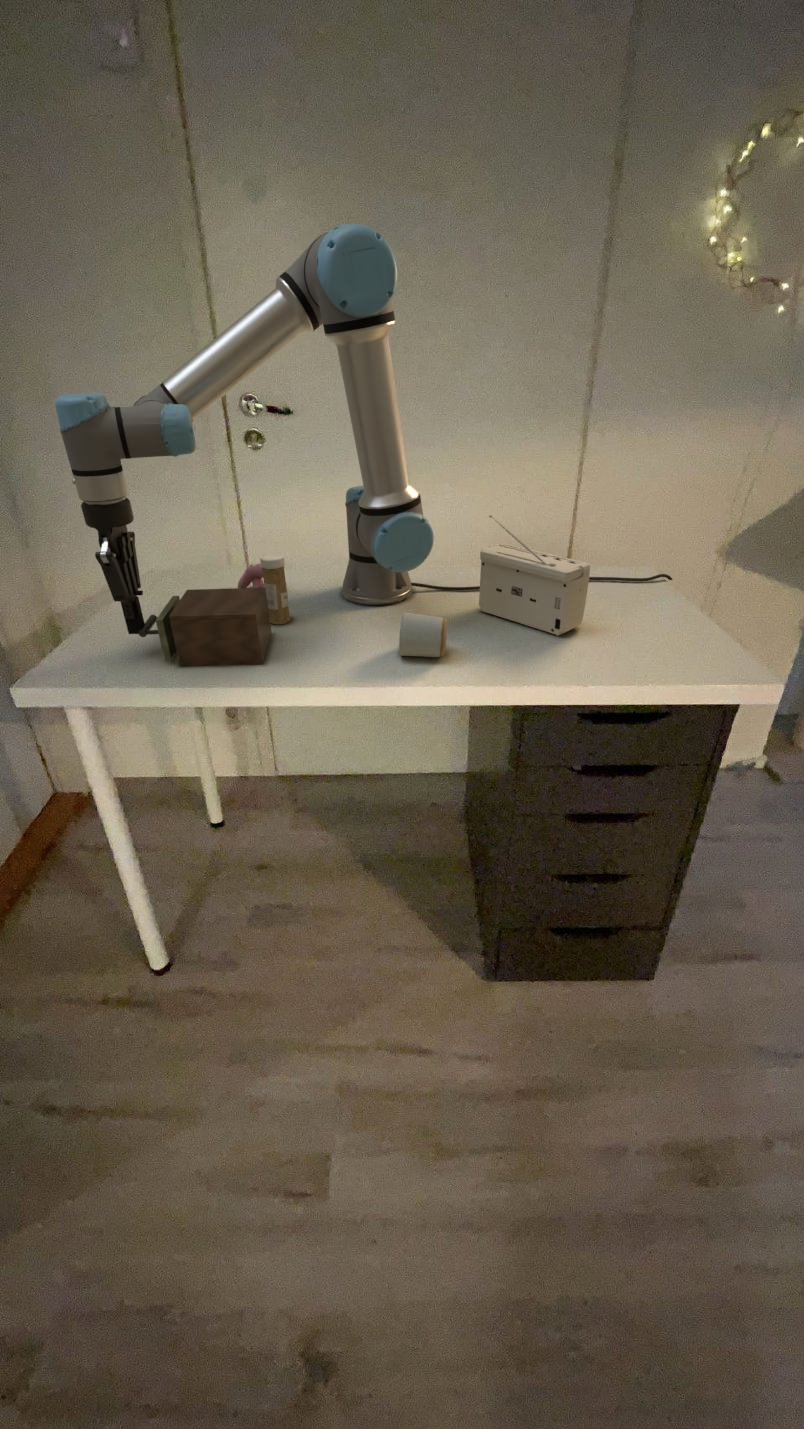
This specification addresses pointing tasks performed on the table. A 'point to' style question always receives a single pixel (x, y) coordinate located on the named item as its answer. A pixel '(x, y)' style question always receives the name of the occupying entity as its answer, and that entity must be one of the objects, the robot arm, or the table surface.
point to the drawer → (163, 629)
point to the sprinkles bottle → (275, 587)
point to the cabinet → (221, 627)
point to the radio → (533, 587)
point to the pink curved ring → (252, 577)
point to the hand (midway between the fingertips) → (137, 632)
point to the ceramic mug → (422, 635)
